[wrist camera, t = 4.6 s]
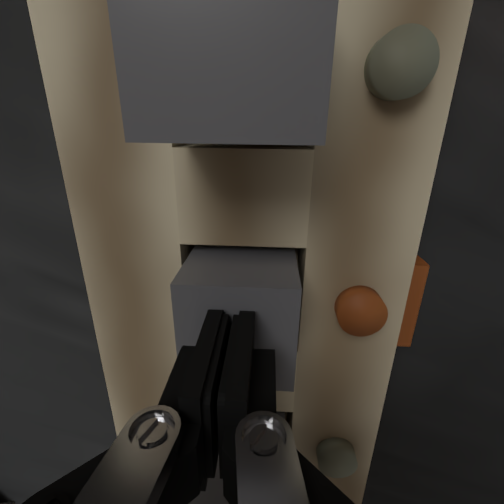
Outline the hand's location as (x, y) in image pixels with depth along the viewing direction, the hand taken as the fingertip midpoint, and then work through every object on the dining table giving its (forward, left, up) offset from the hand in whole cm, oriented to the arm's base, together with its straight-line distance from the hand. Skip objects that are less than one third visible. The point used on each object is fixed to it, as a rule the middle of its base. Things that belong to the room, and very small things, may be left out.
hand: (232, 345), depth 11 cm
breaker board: (0, 0, -7) cm, 7 cm away
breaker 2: (0, 0, -5) cm, 6 cm away
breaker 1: (0, -9, -3) cm, 10 cm away
